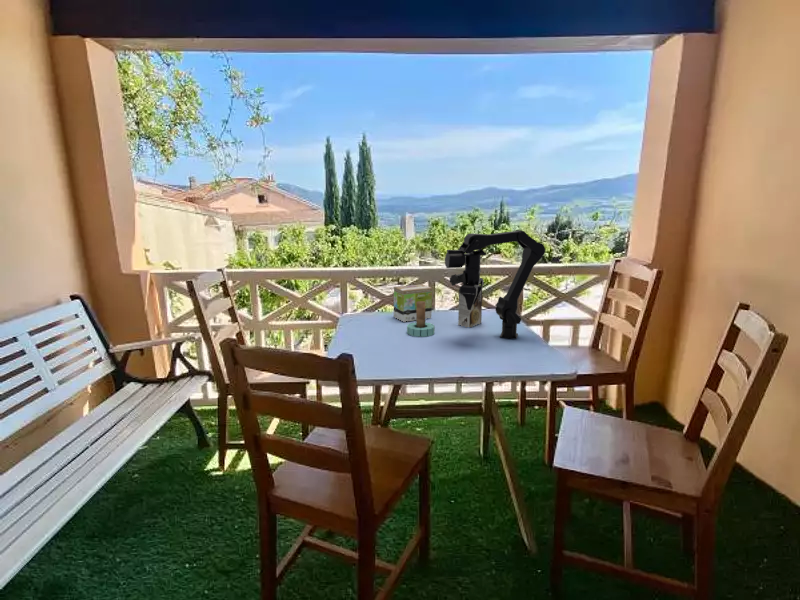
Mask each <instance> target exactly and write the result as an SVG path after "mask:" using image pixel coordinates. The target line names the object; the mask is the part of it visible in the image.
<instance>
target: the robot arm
mask: <svg viewBox="0 0 800 600" xmlns="http://www.w3.org/2000/svg"><path fill="white" fill-rule="evenodd" d="M514 242H517V243H518V245H519V246H520V247H521V248H522V250H523V251H522V252H521V253H522V254H521V257H522V258H521V263H520V265H519V267H518V269H517V271H516V274H515V276H514V278H513V280H512V282H511V284H510V286H509V288H508V290H507V292H506V294H505V295H504V296H503V297H502V296H499V297H498V299H497V303H495V305H494V306H495V314H496V315H497V316H498V317H499V319H500V320H502V323H501V333H500V335H499V338H500V339H501V338H502V339H513V340H517V339H518V337H519V334H518V333H517V331H518V330H517V329H518V328H517V326H518V325H520V324H521V321H522V318H521V317H520V316H519V315H518V314H517V310H518V306H519V305H518V300H519V298H520V296H521V293H522V291H523V290H524V287H525V285H526V284H527V281H528V279H529V276H530V274H531V272H532V271H533V268H534V267H535V266H536V264H538V263H540V262H541V259H542V258H543V257H544V255H545V253H546V246H545V245H544V244H543V243H541V242H538V241H537V240H536V239H534V238H533V237H532V236H530V235H529V234H528V233H526V231H524V230H518V229H517V230H513V231H503V232H499V233H497V232H496V233H490V234H489V233H488V234H483V233H475V232H474V233H473V232H471V233H468V234H466V235H465V237H464V239H463V242H462V244H460V246H459V248H458V249H447V250H446V253H445V258H444V265H445V268H446V269H455V268H456V269H458V268H460V269H461V268H463V266H464V270H463V271H462V272H461V273H458V274H456V273H454V274H452V275H451V276H450V277H449V283H450V284H451V286H452V287H454V286H456V285H458V284H461V283H462V285H461V286H460V287H459V289H458V294H459V293H461V294H462V295H463V296H464V297H465V300H466V304H467V309H468V310H471V308H472V305H473V304H475V303H476V301H477V298H478V296H479V294H480V292H481V289H482V290H483V286H484V281H485V280H484V279H483V278H482V277H481V272H482V268H481V258H482V257H481V256H486V255H487V253H486V252H485V251H484V250H483V249H484V248H487V247H489V246H491V245H492V246H493V245H499V244H505V243H506V244H507V243H514Z"/></svg>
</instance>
